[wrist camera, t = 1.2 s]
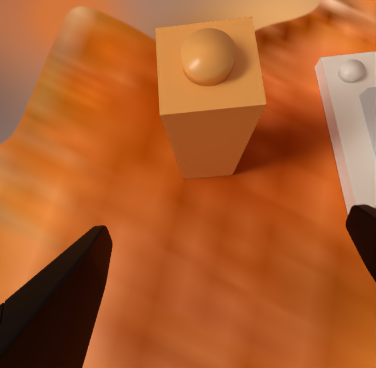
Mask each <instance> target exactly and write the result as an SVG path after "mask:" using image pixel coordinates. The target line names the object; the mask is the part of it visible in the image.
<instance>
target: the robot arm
mask: <svg viewBox="0 0 376 368" xmlns="http://www.w3.org/2000/svg"><path fill="white" fill-rule="evenodd" d="M346 228H347V231H348V233H349V235H350V237H351V239H352V241H353V242H354V244H355V246H356V248H357V250H358V252H359V254H360V256H361V258H362V260H363V262H364V264H365V266H366V267H367V269H368V271H369V272H370V274H371V276H372V277H373V279H374V280H375V282H376V208H374V207H371V206H369V205H366V204H360V205H353V206H352V207H351V209H350V212H349V214H348V217H347V220H346ZM111 252H112V239H111V237H110V234H109V232H108V229H107V227H106V226H104V225H101V226H94V227H93V228H91V229H90V230H89V231H88V232H87V233H85V234H84V235H83V236H82V237H81V238H79V239H78V240H77V241H76V242H75V243H73V244H72V245H71V246H70V247H69V248H67V249H66V250H65V251H64V252H63V253H62V254H60V255H59V256H58V257H57V258H56V259H54V260H53V261H52V262H51V263H50V264H48V265H47V266H46V267H45V268H44V269H42V270H41V271H40V272H39V273H38V274H37V275H35V276H34V277H33V278H32V279H31V280H29V281H28V282H27V283H26V284H25V285H23V286H22V287H21V288H20V289H19V290H17V291H16V292H15V293H14V294H13V295H11V296H10V297H9V298H8V299H7V300H6V301H5V303H2V304H1V305H0V368H82V367H83V363H84V360H85V356H86V353H87V349H88V346H89V342H90V339H91V335H92V332H93V328H94V325H95V321H96V318H97V314H98V311H99V307H100V304H101V300H102V297H103V293H104V289H105V286H106V281H107V275H108V269H109V263H110V258H111Z"/></svg>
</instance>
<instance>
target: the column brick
mask: <svg viewBox="0 0 376 368" xmlns="http://www.w3.org/2000/svg"><path fill="white" fill-rule="evenodd" d="M156 49H157V69H158V88H159V107H160V117H161V119H162V122H163V125H164V128H165V130H166V133H167V136H168V139H169V141H170V144H171V147H172V149H173V152H174V155H175V158H176V160H177V163H178V166H179V169H180V171H181V174H182V177H183V179H194V178H205V177H216V176H228V175H233V173H234V171H235V169H236V167H237V164H238V162H239V160H240V158H241V156H242V154H243V152H244V150H245V148H246V146H247V144H248V142H249V140H250V137H251V135H252V133H253V131H254V129H255V127H256V125H257V123H258V121H259V119H260V117H261V115H262V112H263V110H264V108H265V106H266V98H265V92H264V86H263V80H262V74H261V68H260V62H259V56H258V50H257V44H256V38H255V32H254V26H253V20H252V17H245V18H237V19H228V20H220V21H212V22H204V23H195V24H187V25H179V26H171V27H163V28H156Z"/></svg>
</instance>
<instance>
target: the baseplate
mask: <svg viewBox="0 0 376 368" xmlns="http://www.w3.org/2000/svg"><path fill="white" fill-rule="evenodd" d="M315 72H316V76H317V80H318V85H319V89H320V94H321V98H322V103H323V107H324V111H325V116H326V120H327V125H328V129H329V133H330V138H331V142H332V147H333V151H334V156H335V160H336V164H337V169H338V173H339V178H340V182H341V187H342V191H343V195H344V200H345V204H346V209H347V213H348V214H349V212H350V209H351V207H352V206H353V205H360V204H366V205H369V206H371V207H374V208H376V51H375V52H366V53H357V54H348V55H339V56H330V57H321V58H320V60H319V61H318V63H317V65H316V66H315Z"/></svg>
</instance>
